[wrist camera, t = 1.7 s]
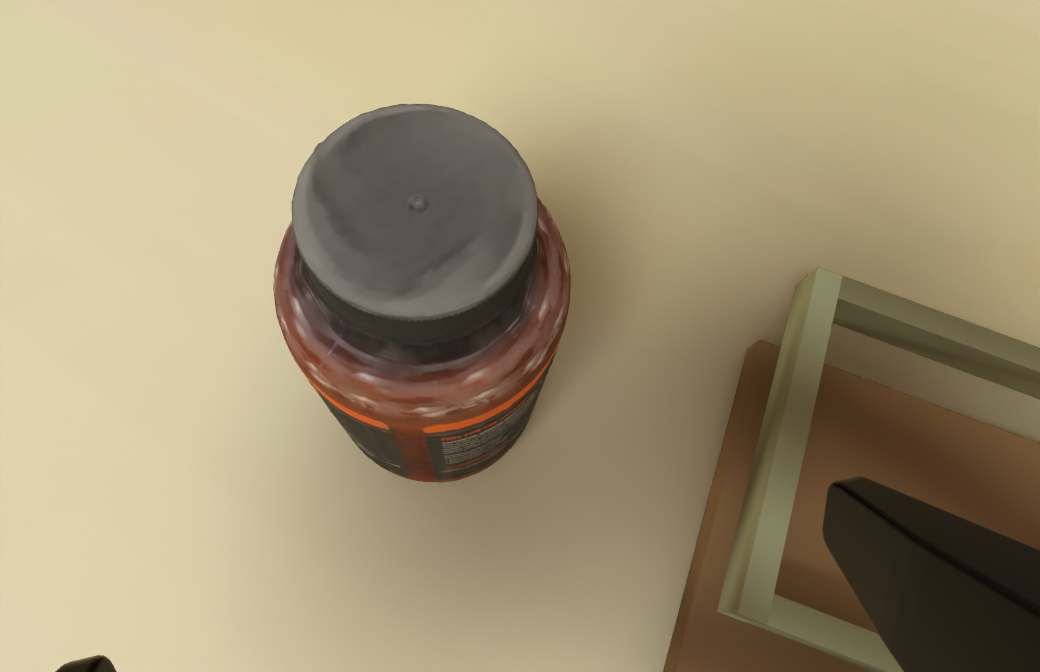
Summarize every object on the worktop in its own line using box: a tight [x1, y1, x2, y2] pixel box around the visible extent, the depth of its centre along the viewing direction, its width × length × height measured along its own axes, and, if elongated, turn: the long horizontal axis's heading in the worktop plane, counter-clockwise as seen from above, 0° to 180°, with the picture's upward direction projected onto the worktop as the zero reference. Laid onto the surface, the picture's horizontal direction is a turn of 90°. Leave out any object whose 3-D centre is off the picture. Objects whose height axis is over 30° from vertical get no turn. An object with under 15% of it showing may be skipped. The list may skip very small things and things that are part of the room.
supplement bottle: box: [273, 104, 571, 482], centre depth 16 cm, size 6×6×11 cm
